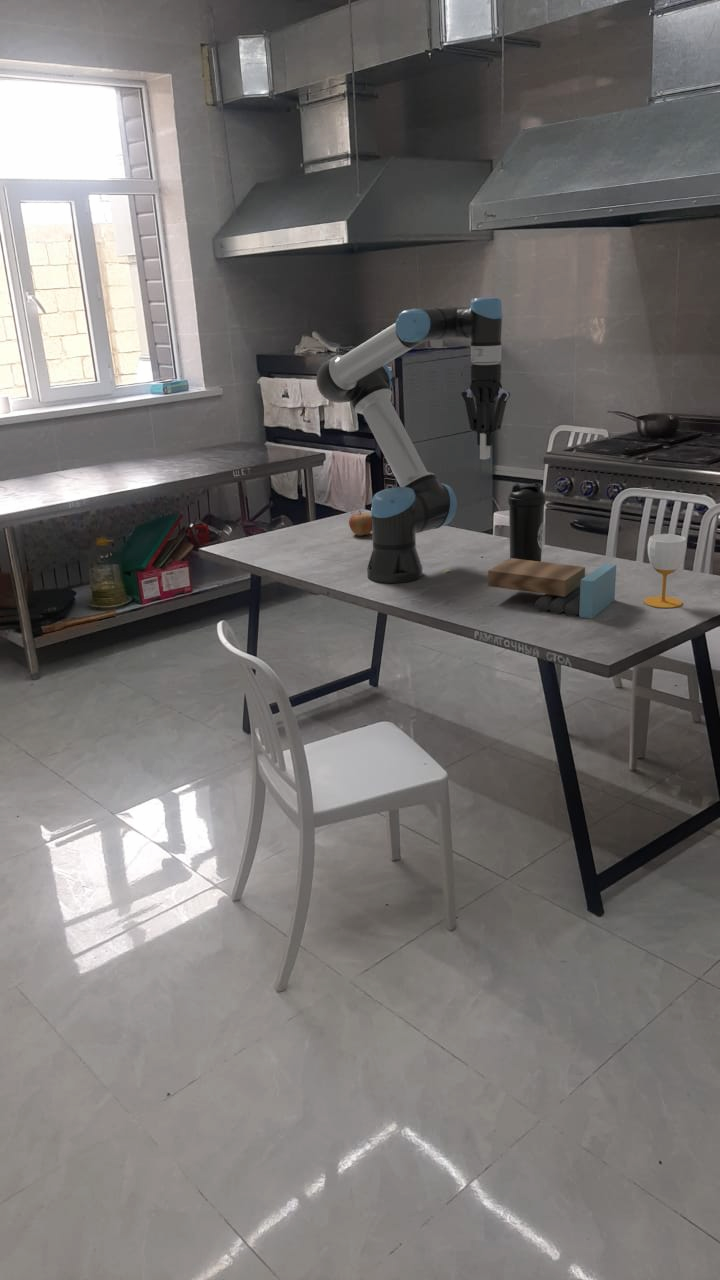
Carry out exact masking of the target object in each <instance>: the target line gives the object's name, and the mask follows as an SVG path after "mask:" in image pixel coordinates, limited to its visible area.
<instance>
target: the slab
mask: <svg viewBox="0 0 720 1280" xmlns="http://www.w3.org/2000/svg"><path fill="white" fill-rule="evenodd" d="M584 577H586V566H581V565H580V566H579V565H573V564H572V565H571V564H562V563H554V562H547V561H541V562H539V561H531V560H523V559H514V558H510V557H509V558H508V559H506V560H504V561H502V562H501V563H499V564H498V565H495V566H493V567H492V568H490V569H488V571H487V586H488V587H493V588H499V589H505V590H506V589H507V590H515V591H521V592H529V593H536V594H542V595H545V594H549V595H556V596H563V597H565V596H566V595H568V594H569V593H571V592H572V591H573V590H575V589H576V588H578V587H579V586H580V584H581V579H583V578H584Z"/></svg>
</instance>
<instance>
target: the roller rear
mask: <svg viewBox="0 0 720 1280" xmlns="http://www.w3.org/2000/svg"><path fill="white" fill-rule="evenodd" d="M558 597H559V596H556V595H549V594H543V596H541V597H539V598H537V600H536V601H535V608H536V610H537V611H538V612H543V613H544V612H545V613H546V612H548V611H550V607H549V606H550V603H551V602H552V601H553V600H555V599H556V598H558Z"/></svg>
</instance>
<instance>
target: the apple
mask: <svg viewBox="0 0 720 1280" xmlns="http://www.w3.org/2000/svg"><path fill="white" fill-rule="evenodd" d="M358 512H359V513H355V514H352V515H351V516H350V518H349V521H348V525H349V527H350V531H351V532H352V533H353V534H354V535H356V536H358V537H362V536H367V535H369V534H371V533H372V514H369V513H367V512H366V513H365V512H363V513H362V512H361V510H359V511H358Z"/></svg>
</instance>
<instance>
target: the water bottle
mask: <svg viewBox="0 0 720 1280" xmlns="http://www.w3.org/2000/svg"><path fill="white" fill-rule="evenodd" d="M542 485H543V484H542V483H540V482H536V483H535V482H533V483H528V484H524V485H523V484H522V485H521V484H520V483H518V482H515V483H513V485H512V490H511V491H510V493H509V495H508V496H507V504H508V505H509V506H508V511H509V513H508V514H509V515H508V517H509V518H508V519H509V559H510V558H514V559H523V560H531V561H539V562H542V553H543V551H542V549H543V537H544V535H543V534H544V523H545V522H544V521H545V520H544V516H545V515H544V514H545V506H546V503H547V496H546V495H545V493H544V491H543V490H542V489H541V488H542Z"/></svg>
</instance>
